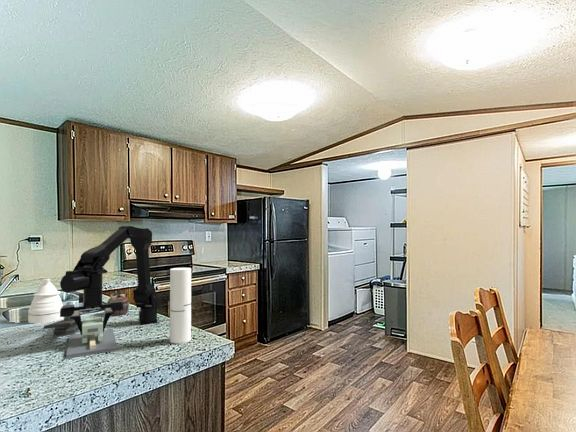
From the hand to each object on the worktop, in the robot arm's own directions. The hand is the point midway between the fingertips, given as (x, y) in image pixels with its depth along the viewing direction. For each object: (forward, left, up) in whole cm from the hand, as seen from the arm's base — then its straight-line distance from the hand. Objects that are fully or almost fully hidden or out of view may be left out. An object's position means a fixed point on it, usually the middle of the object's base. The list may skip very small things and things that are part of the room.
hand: (92, 333), depth 120 cm
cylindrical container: (-27, +12, -4) cm, 30 cm away
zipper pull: (+9, -18, -4) cm, 21 cm away
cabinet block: (0, 0, -2) cm, 2 cm away
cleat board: (0, 0, -4) cm, 4 cm away
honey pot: (+17, -48, -4) cm, 51 cm away
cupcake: (-11, -43, -4) cm, 45 cm away
